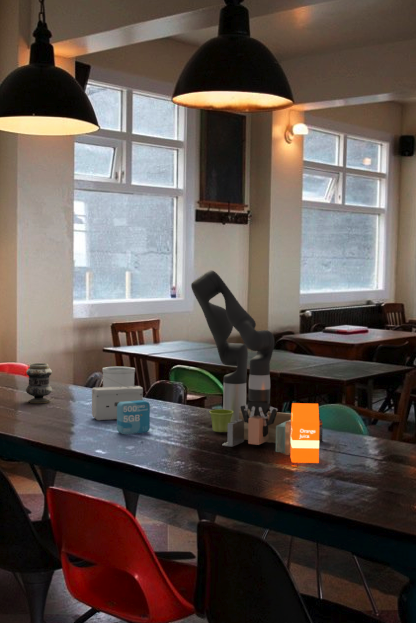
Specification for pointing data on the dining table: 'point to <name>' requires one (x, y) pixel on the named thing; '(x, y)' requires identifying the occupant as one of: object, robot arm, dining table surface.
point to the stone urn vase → (39, 382)
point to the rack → (274, 428)
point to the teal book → (280, 437)
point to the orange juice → (304, 433)
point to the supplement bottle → (320, 429)
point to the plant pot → (220, 419)
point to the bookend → (235, 433)
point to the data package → (133, 417)
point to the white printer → (112, 399)
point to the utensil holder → (118, 376)
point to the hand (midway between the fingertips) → (258, 435)
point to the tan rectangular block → (256, 431)
